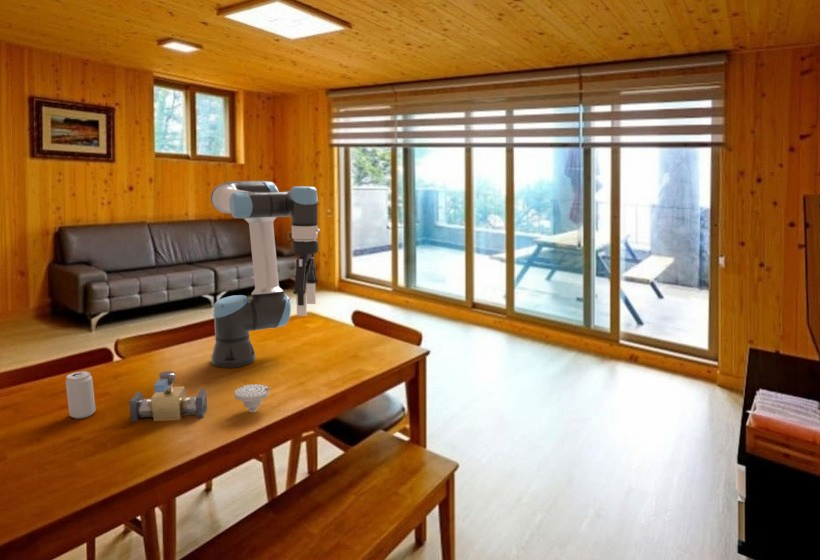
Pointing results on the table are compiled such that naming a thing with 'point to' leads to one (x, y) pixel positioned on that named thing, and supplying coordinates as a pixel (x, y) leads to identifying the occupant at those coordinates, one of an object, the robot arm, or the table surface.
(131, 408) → the pipe out
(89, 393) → the beverage can
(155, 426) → the table surface
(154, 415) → the valve
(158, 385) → the lever
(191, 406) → the pipe in
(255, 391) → the showerhead
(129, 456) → the table surface
